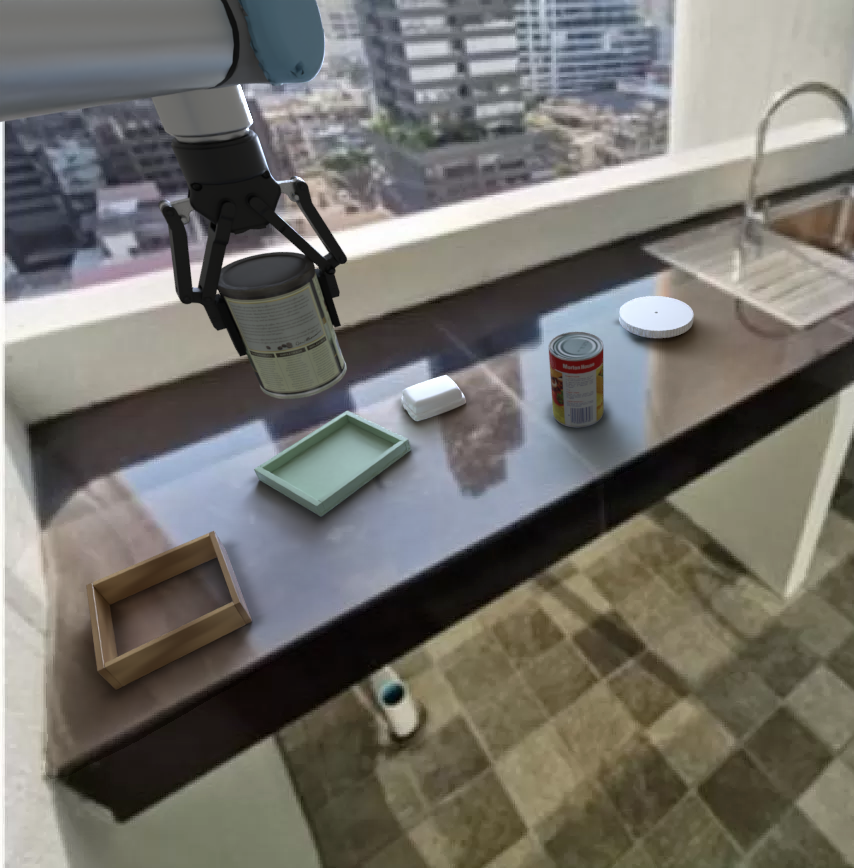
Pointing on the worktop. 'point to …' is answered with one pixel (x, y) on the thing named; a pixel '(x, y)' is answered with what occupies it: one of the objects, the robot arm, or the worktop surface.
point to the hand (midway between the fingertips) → (289, 336)
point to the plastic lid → (656, 317)
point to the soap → (432, 398)
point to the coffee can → (283, 323)
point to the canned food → (577, 378)
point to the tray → (333, 462)
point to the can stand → (175, 641)
